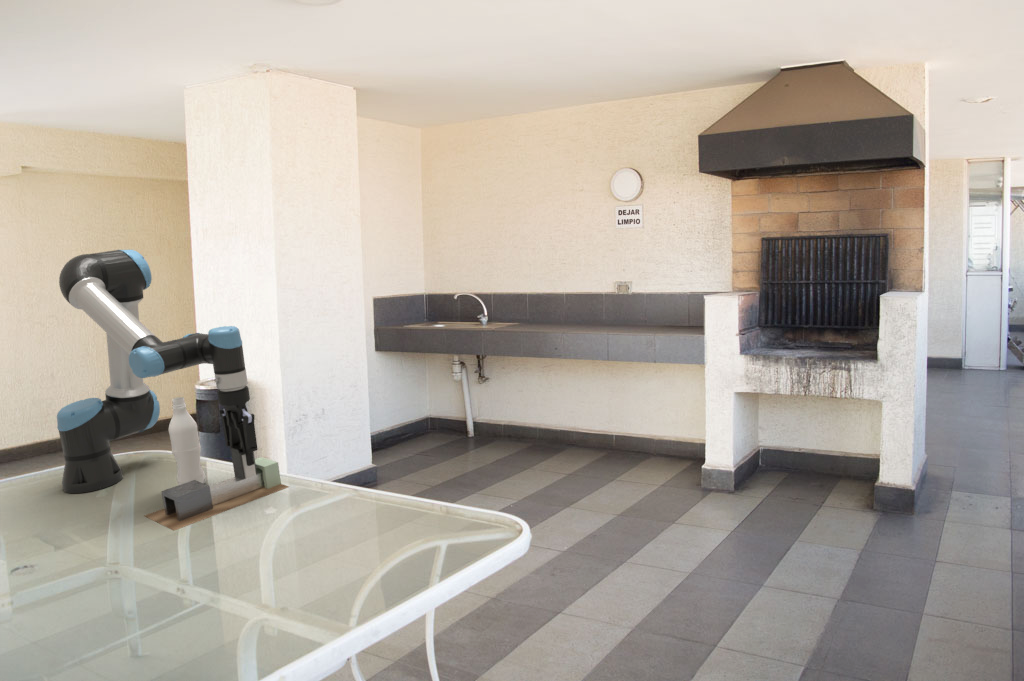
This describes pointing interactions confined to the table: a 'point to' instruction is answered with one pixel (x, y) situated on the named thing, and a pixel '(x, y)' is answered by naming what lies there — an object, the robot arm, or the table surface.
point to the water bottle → (185, 444)
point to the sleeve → (187, 499)
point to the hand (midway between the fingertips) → (245, 474)
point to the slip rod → (236, 480)
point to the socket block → (269, 471)
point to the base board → (175, 524)
